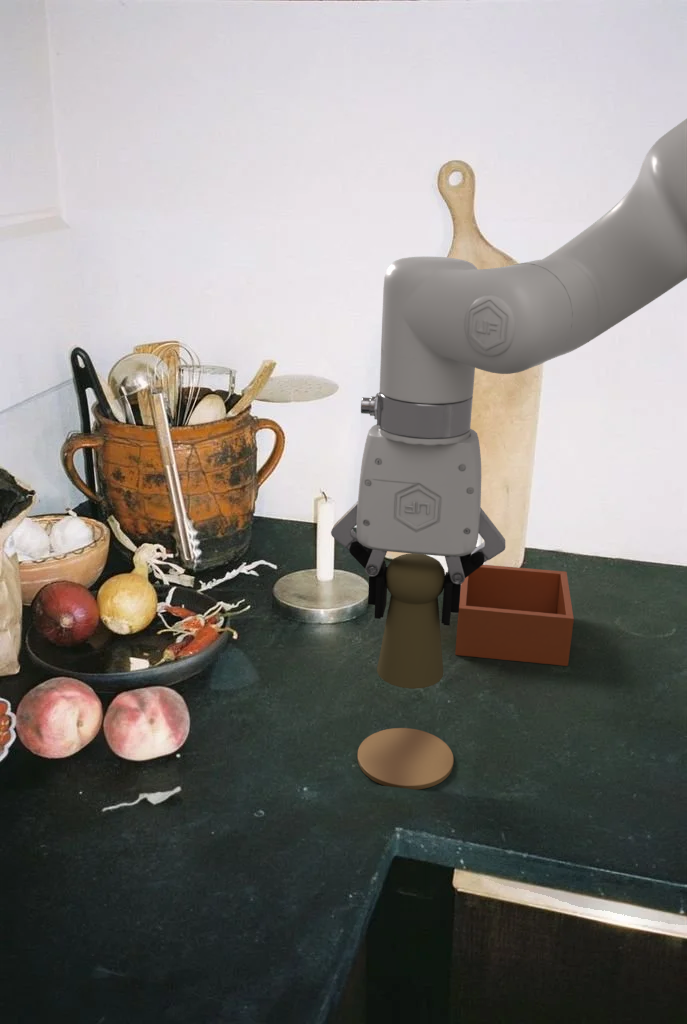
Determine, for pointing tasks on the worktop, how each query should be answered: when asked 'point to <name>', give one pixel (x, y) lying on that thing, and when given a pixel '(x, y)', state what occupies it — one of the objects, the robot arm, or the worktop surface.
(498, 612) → the terracotta open box
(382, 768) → the coaster
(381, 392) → the robot arm
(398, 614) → the olive brown pawn
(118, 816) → the worktop surface
